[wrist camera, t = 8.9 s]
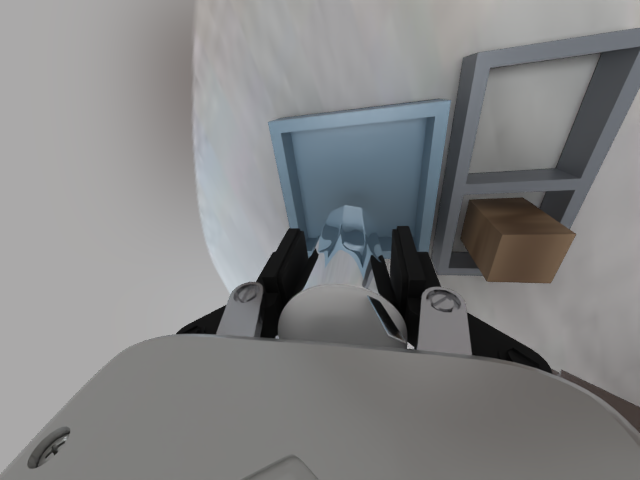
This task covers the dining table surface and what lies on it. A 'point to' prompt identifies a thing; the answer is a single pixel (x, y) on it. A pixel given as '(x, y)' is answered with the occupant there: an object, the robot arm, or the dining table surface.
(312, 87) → the dining table surface
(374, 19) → the dining table surface
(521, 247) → the walnut peg
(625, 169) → the dining table surface
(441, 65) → the dining table surface
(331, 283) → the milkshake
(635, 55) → the holder
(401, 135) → the tray
